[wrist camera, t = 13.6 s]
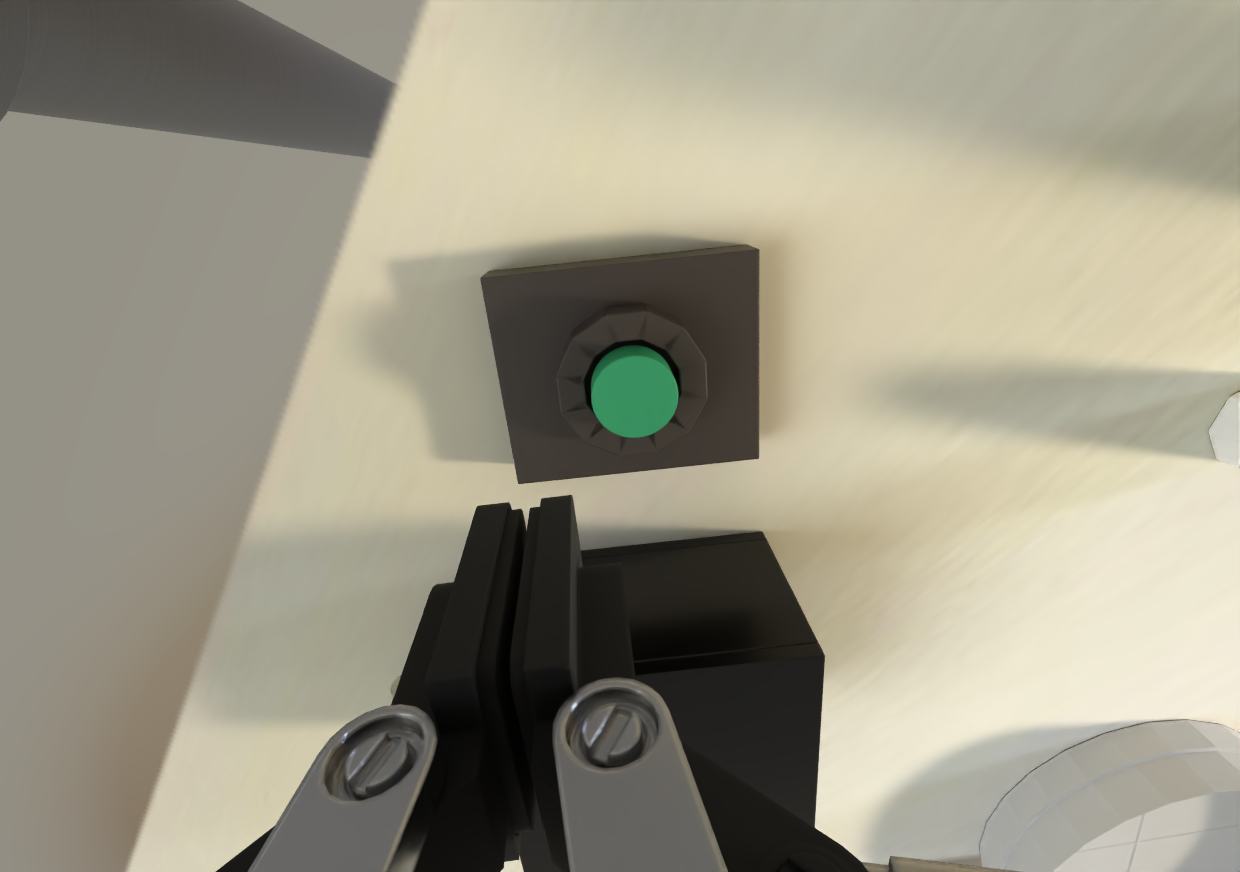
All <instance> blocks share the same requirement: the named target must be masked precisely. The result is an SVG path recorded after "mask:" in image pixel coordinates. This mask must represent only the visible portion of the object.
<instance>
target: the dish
mask: <svg viewBox="0 0 1240 872" xmlns="http://www.w3.org/2000/svg"><path fill="white" fill-rule="evenodd" d="M979 847H980V856H981V864H982V867H987V868H995V869H1004V870H1012V871H1021V872H1240V733H1239V732H1237V731H1234V730H1232V729H1230V728H1228V727H1225V726H1223V725H1221V724H1214V723H1207V722H1199V721H1192V720H1176V721H1162V722H1149V723H1143V724H1139V725H1135V726H1132V727H1128V728H1124V729H1120V730H1116V731H1112V732H1108V733H1105V734H1102V735H1100V736H1098V737H1095V738H1093V739H1091V740H1088V741H1086V742H1084V743H1081V744H1079V745H1077V746H1074V747H1072V748H1070V749H1067V750H1065V751H1063V752H1062V753H1060V754H1059V755H1057V756H1056V757H1054V758H1052V759H1051V760H1049V761H1048V762H1046V763H1044V764H1043V765H1041V766H1040V767H1038V768H1037V769H1035V770H1033V771H1032V772H1030V773H1029V774H1028V775H1027V776H1026V777H1025V778H1024V779H1023V780H1022V781H1021V782H1020V783H1019V784H1017V785H1016V786H1015V787H1014V788H1013V789H1012V790H1011V791H1010V792H1009V793H1008V794H1007V795H1006V796H1005V797H1004V798H1003V799H1002V801H1001V802H1000V804H999V805H998V807H997V808H996V810H995V811H994V812H993V814H992V815H991V817H990V818H989V820H988V821H987V823H986V827H985V830H984V833H983V836H982V840H981V843H980V846H979Z"/></svg>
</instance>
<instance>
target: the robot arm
mask: <svg viewBox="0 0 1240 872" xmlns="http://www.w3.org/2000/svg"><path fill="white" fill-rule="evenodd" d="M536 799H537V803H538V808H539V812H540V816H541V821H542V825H543V828H544V829H545V832H546V837H547V841H548V845H549V850H550V854H551V859H552V862H553V863H554V864H555V865H556V866H557V867H558V868H559V869H560V870H561V871H562V872H1021V871H1012V870H1004V869H995V868H987V867H979V866H970V865H962V864H953V863H945V862H937V861H928V860H920V859H911V858H903V857H895V856H890V860H889V865H881V864H873V863H864V862H861V861H859V860H858V859H857V858H856V857H855V856H853V855H852V854H851V853H850V852H849V851H848V850H846V849H845V848H844V847H843V846H842V845H840V844H839V843H837V842H835V841H834V840H832V839H831V838H829V837H828V836H826V835H825V834H823V833H822V832H820V831H819V830H817V829H816V828H814V827H812V826H811V825H809V824H808V823H806V822H805V821H803V820H802V819H800V818H799V817H797V816H796V815H794V814H793V813H791V812H789V811H788V810H786V809H785V808H783V807H782V806H780V805H779V804H777V803H776V802H774V801H773V800H771V799H769V798H768V797H766V796H765V795H763V794H762V793H760V792H759V791H757V790H756V789H754V788H753V787H751V786H750V785H748V784H746V783H745V782H743V781H742V780H740V779H739V778H737V777H736V776H734V775H733V774H731V773H730V772H728V771H727V770H725V769H723V768H722V767H720V766H719V765H717V764H716V763H714V762H713V761H711V760H710V759H708V758H707V757H705V756H704V755H702V754H700V753H699V752H697V751H696V750H694V749H693V748H691V747H690V746H688V745H687V744H685V743H684V742H682V741H680V739H679V736H678V733H677V731H676V728H675V725H674V722H673V720H672V717H671V714H670V711H669V709H668V707H667V706H666V704H665V702H664V701H663V699H662V697H661V696H660V695H659V694H658V693H657V692H655V691H654V690H653V689H652V688H651V687H650V686H648V685H646V684H643V683H641V682H639V681H636V678H635V670H634V661H633V653H632V645H631V637H630V629H629V620H628V612H627V604H626V596H625V588H624V579H623V571H622V563H612V564H604V565H596V566H587V567H583V565H582V558H581V551H580V544H579V537H578V530H577V523H576V516H575V509H574V503H573V497H572V495H568V496H559V497H551V498H542V499H541V504H540V507H534V508H530V511H529V519H528V526H527V531H526V525H525V520H524V515H523V511H522V509H517V510H512V508H511V505H510V503H509V502H507V503H499V504H490V505H482V506H477V508H476V510H475V514H474V517H473V520H472V524H471V527H470V530H469V534H468V537H467V540H466V544H465V547H464V550H463V554H462V557H461V561H460V564H459V567H458V571H457V574H456V577H455V581H454V582H453V583H445V584H437V585H435V586H434V587H433V588H432V590H431V592H430V595H429V598H428V600H427V603H426V606H425V609H424V612H423V615H422V618H421V621H420V623H419V626H418V629H417V632H416V635H415V638H414V641H413V643H412V646H411V649H410V652H409V655H408V658H407V661H406V664H405V666H404V669H403V672H402V675H401V678H400V681H399V684H398V686H397V689H396V692H395V695H394V698H393V701H392V704H391V706H383V707H380V708H377V709H375V710H372V711H369V712H366V713H364V714H362V715H361V716H359V717H357V718H356V719H354V720H352V721H351V722H349V723H347V724H346V725H345V726H344V727H342V728H341V729H340V730H339V731H338V732H337V733H336V734H335V735H333V736H332V737H331V738H330V739H329V741H328V742H327V743H326V745H325V746H324V747H323V749H322V750H321V751H320V752H319V754H318V755H317V757H316V759H315V760H314V762H313V764H312V765H311V767H310V769H309V770H308V772H307V774H306V775H305V777H304V779H303V780H302V782H301V784H300V785H299V787H298V789H297V790H296V792H295V794H294V795H293V797H292V799H291V800H290V802H289V804H288V805H287V807H286V809H285V810H284V812H283V814H282V815H281V817H280V819H279V820H278V822H277V824H276V825H275V826H274V827H273V828H272V829H270V830H269V831H268V832H266V833H265V834H264V835H262V836H261V837H260V838H259V839H257V840H256V841H255V842H253V843H252V844H251V845H250V846H248V847H247V848H246V849H244V850H243V851H242V852H241V853H239V854H238V855H237V856H235V857H234V858H233V859H231V860H230V861H229V862H228V863H226V864H225V865H224V866H222V867H221V868H220V869H219V870H217V871H216V872H500V871H501V870H502V869H503V868H504V862H505V861H513V860H519V853H520V841H521V833H523V832H530V831H533V829H534V823H535V809H536Z"/></svg>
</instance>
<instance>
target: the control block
mask: <svg viewBox="0 0 1240 872" xmlns="http://www.w3.org/2000/svg"><path fill="white" fill-rule="evenodd" d="M481 285H482V290H483V295H484V301H485V306H486V312H487V317H488V322H489V328H490V333H491V339H492V344H493V350H494V355H495V360H496V366H497V371H498V377H499V382H500V387H501V393H502V398H503V404H504V409H505V415H506V420H507V425H508V431H509V436H510V442H511V447H512V453H513V458H514V463H515V469H516V474H517V480H518V484H524V483H533V482H543V481H552V480H562V479H571V478H581V477H590V476H600V475H609V474H619V473H628V472H637V471H647V470H656V469H666V468H675V467H685V466H694V465H704V464H713V463H723V462H732V461H741V460H751V459H759V249H757V248H754V247H751V246H748V245H737V246H728V247H718V248H708V249H698V250H689V251H679V252H669V253H660V254H650V255H640V256H631V257H621V258H611V259H602V260H592V261H582V262H572V263H563V264H553V265H543V266H534V267H524V268H514V269H505V270H495V271H489V272H487V273H486V274H485V275H484V276H483V277H481ZM628 345H638V346H644V347H647V348H650V349H652V350H654V351H655V352H657V353H658V354H660V355H661V356H662V357H663V358H664V359H665V361H666V362H667V364H668V365H669V367H670V369H671V371H672V374H673V376H674V378H675V381H676V383H677V387H678V404H677V407H676V410H675V413H674V415H673V416H672V418H671V419H670V421H669V422H668V423H667V424H666V425H665V426H664V427H663V428H661V429H660V430H659V431H657V432H655V433H653V434H651V435H648V436H645V437H639V438H629V437H623V436H620V435H617V434H615V433H613V432H611V431H609V430H608V429H607V428H605V427H604V426H603V425H602V424H601V423H600V421H599V420H598V419H597V417H596V415H595V413H594V410H593V407H592V401H591V381H592V376H593V373H594V370H595V368H596V366H597V364H598V363H599V362H600V360H601V359H602V358H603V357H604V356H605V355H607V354H608V353H609V352H611V351H613V350H615V349H617V348H619V347H623V346H628Z"/></svg>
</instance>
